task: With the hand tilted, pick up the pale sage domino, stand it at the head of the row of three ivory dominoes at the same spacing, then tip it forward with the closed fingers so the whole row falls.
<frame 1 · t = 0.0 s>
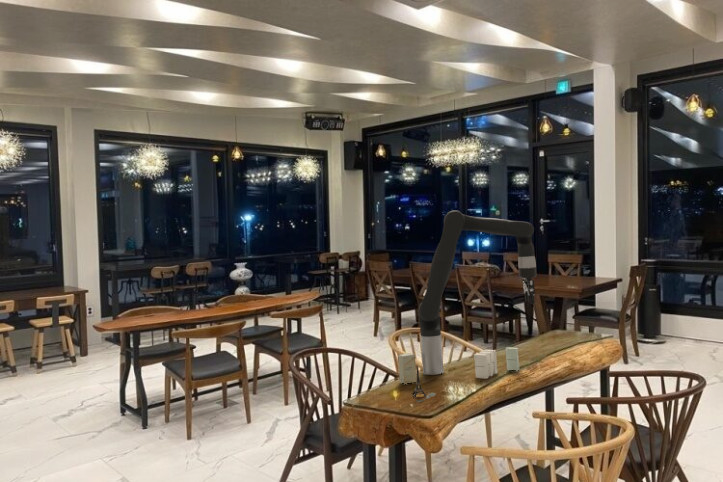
hand: (529, 302, 252), 29 cm above the table, tool pointing down, fingers open, 8 cm apart
sage domino: (513, 370, 250), on the table
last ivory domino: (482, 377, 241), on the table
ivory domino 2: (491, 373, 248), on the table
eiffel tower figurine: (420, 397, 220), on the table
ivory domino 3: (486, 375, 245), on the table
skincare box: (408, 383, 242), on the table
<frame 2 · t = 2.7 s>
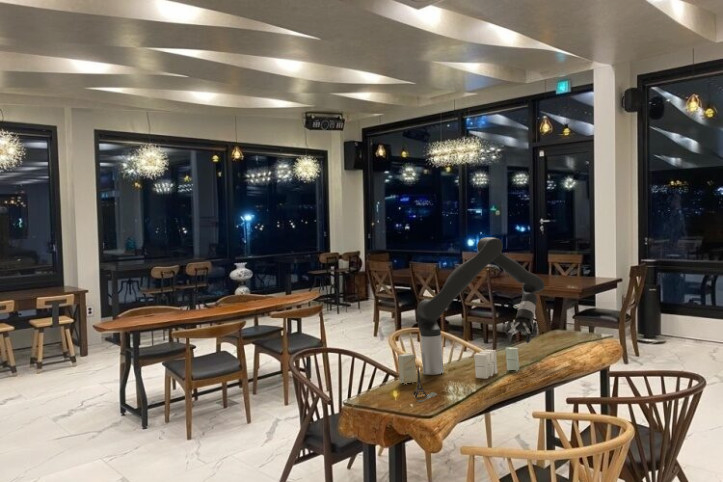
hand: (517, 341, 256), 11 cm above the table, tool tilted 45°, fingers open, 8 cm apart
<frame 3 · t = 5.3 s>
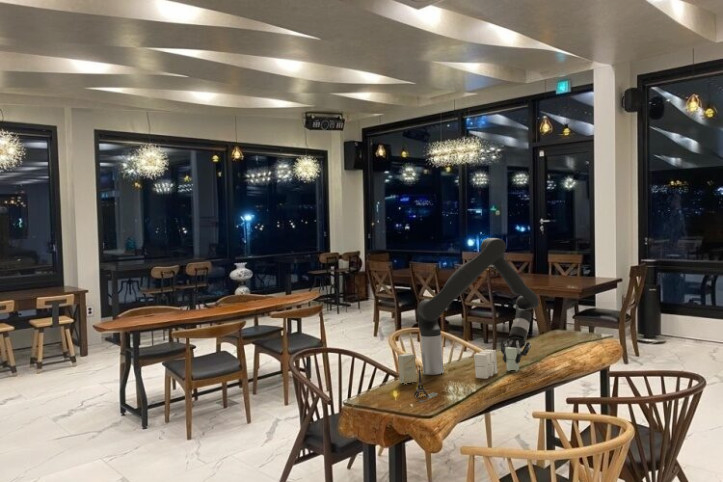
hand: (510, 362, 249), 4 cm above the table, tool tilted 45°, fingers closed on sage domino, 5 cm apart
sage domino: (513, 370, 250), on the table, touching gripper
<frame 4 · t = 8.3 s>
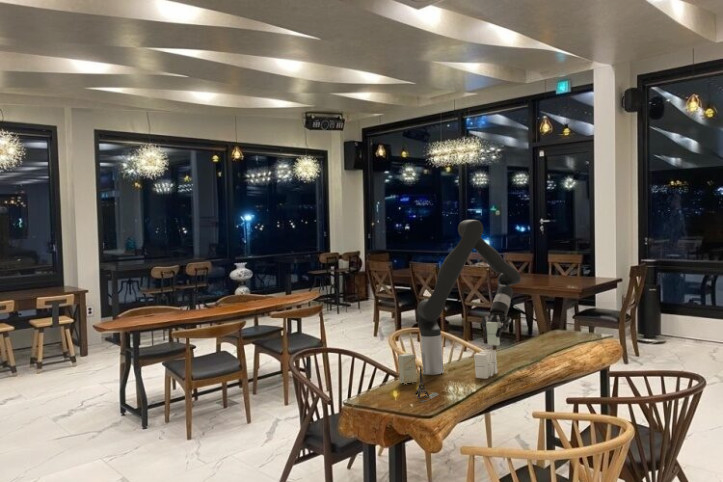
hand: (491, 336, 251), 16 cm above the table, tool tilted 45°, fingers closed on sage domino, 5 cm apart
sage domino: (493, 344, 252), point 12 cm above the table, touching gripper
when the fingers open (5 cm above the table, at t = 11.1 s): sage domino stays where it is, on the table.
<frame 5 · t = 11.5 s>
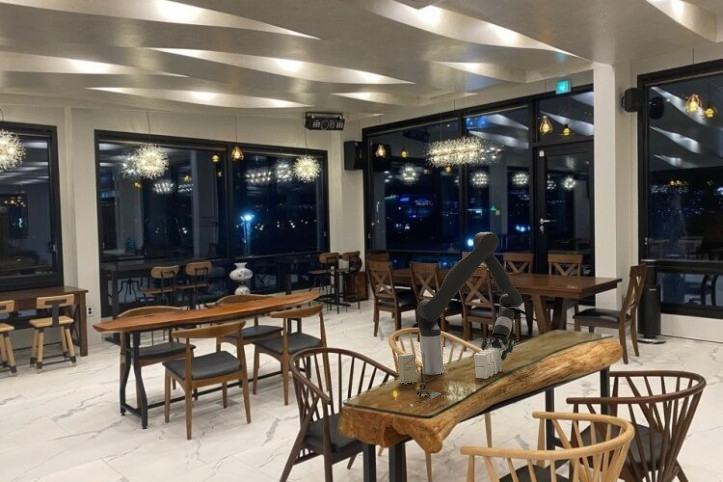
hand: (493, 358, 251), 6 cm above the table, tool tilted 45°, fingers open, 8 cm apart
sage domino: (495, 370, 252), on the table
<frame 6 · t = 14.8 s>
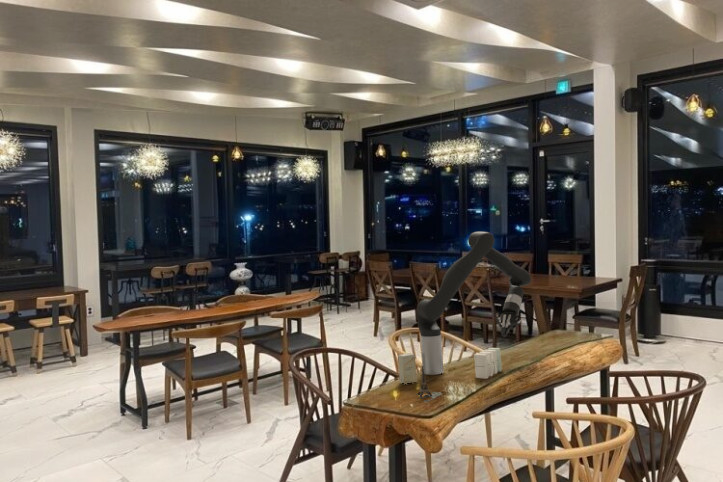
hand: (503, 335, 261), 14 cm above the table, tool tilted 45°, fingers closed
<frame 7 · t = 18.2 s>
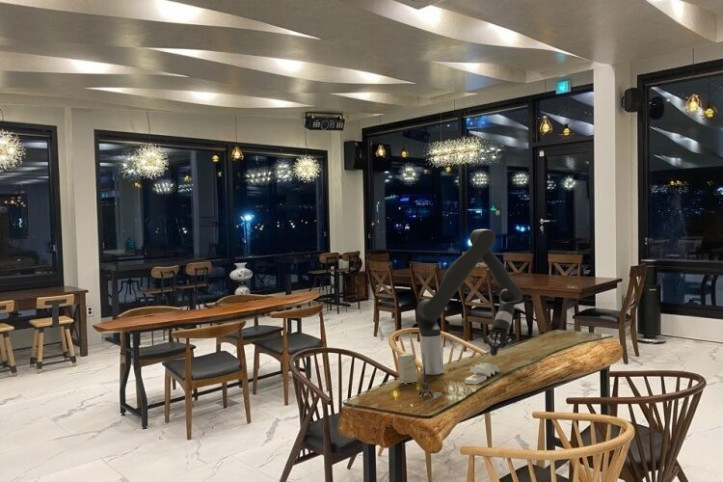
hand: (492, 354, 251), 7 cm above the table, tool tilted 45°, fingers closed
sage domino: (493, 369, 250), point 1 cm above the table, tilted 65°, touching ivory domino 2
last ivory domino: (481, 376, 240), point 1 cm above the table, tilted 89°, touching ivory domino 3
ivory domino 2: (489, 372, 247), point 1 cm above the table, tilted 65°, touching ivory domino 3, sage domino
ivory domino 3: (485, 374, 243), point 1 cm above the table, tilted 65°, touching ivory domino 2, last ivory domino
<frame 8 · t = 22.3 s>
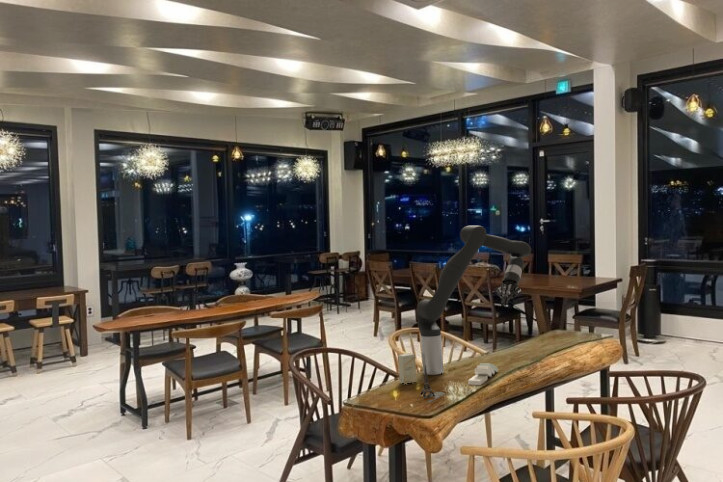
hand: (503, 304, 263), 28 cm above the table, tool tilted 45°, fingers closed
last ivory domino: (481, 377, 239), point 1 cm above the table, tilted 89°
ivory domino 2: (488, 372, 247), point 1 cm above the table, tilted 66°, touching ivory domino 3, sage domino
ivory domino 3: (485, 374, 243), point 1 cm above the table, tilted 68°, touching ivory domino 2
at the end: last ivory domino tilted 89°; sage domino tilted 66°; sage domino inside the target area (2.4 cm from its centre), point 0.8 cm above the table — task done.
